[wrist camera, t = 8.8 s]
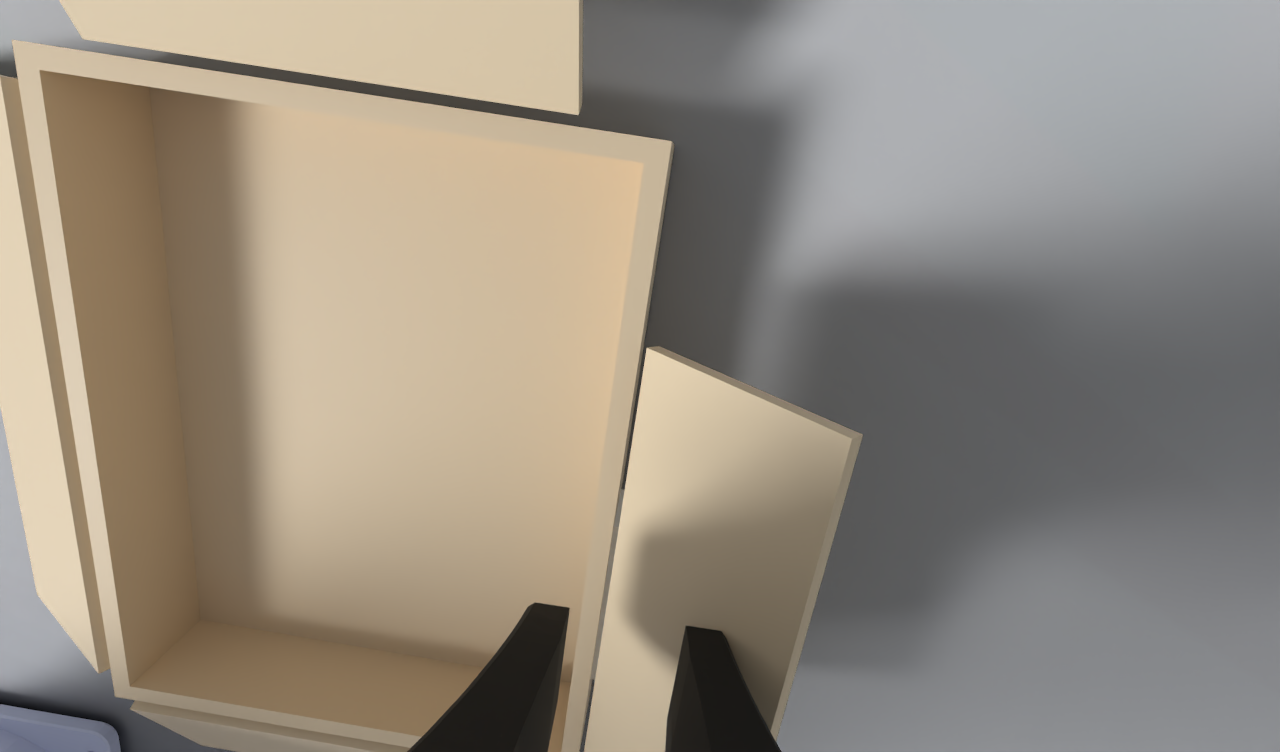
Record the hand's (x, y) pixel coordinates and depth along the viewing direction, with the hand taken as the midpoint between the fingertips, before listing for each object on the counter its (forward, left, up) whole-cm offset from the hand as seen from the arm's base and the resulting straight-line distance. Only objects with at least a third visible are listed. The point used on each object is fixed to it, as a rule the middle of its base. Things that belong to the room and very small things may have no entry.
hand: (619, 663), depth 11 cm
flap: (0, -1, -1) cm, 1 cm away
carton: (0, +8, -5) cm, 9 cm away
